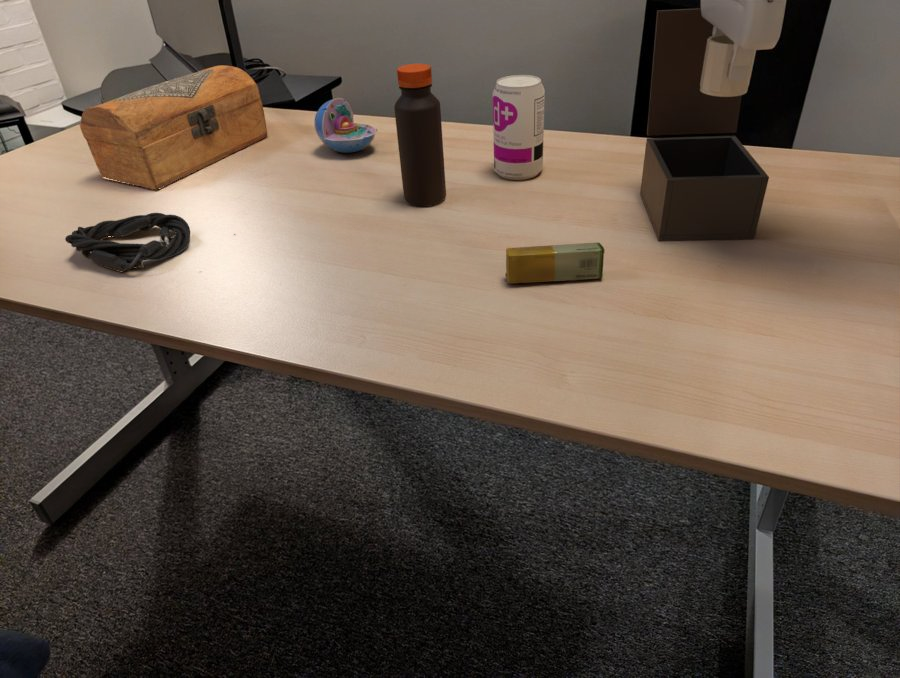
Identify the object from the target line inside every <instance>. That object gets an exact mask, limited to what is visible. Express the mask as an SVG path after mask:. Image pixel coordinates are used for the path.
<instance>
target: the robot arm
mask: <svg viewBox="0 0 900 678" xmlns="http://www.w3.org/2000/svg"><path fill="white" fill-rule="evenodd" d="M786 5H787V0H700V8H701V14H702V17H703V18H705V19H706V20H707V21H708V22H710V23H711V24H712V25H713V32H712V36H715V35H722V34H725V35H726V36H727V37H728V38H730V39H731V40H732V41H733V42H734V47H733V51H734V54H733V58H732V61H731V63H729V64H728V72H727V78H728V79H729V80H730V81H732V82H741V81H743V80H744V79H745V76H746V72H747V67H748V65H749V63H750V61H751V59H752V57H753V55H754V53H755V50H756V51H761V50H772V49H774V48H775V47H776V46H777V44H778V41H779V40H780V37H781V33H782V29H783V24H784V17H785V11H786Z"/></svg>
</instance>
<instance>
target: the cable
mask: <svg viewBox="0 0 900 678" xmlns="http://www.w3.org/2000/svg"><path fill="white" fill-rule="evenodd" d="M155 227H157V228H159V232H158V233H159V236H160V240H161V241H158V240H155V239H154V240H151V241H149V242H146V243H125V242H123V243H122V242H117V241H113V240H106V239H107V238H106V237H108V236H111V238H113V237H112V236H115V237H117V238H121V237H126V236H129V235H132V234H133V233H135V232H137V231H145V232H146V231H149V230H152V229H153V228H155ZM171 231H172V232H174V233H175V235H173V236H172V235H171ZM190 238H191V229H190V226H189V223H188V222H187V221H186V220H185V219H184V218H183V217H181V216H179V215H176V214H165V213H161V212H151V213H147V214H139V215H133V216H128V217H125V218H121V219H117V220H103V221H101V222H100V221H99V222H98V223H96V224H95V225H90V226H86V227H82V226H78V227H77V230H73V231H72V232H71V234H68V235H66V237H65V238H64V239H65V242H66V243H68V244H70V246H71V247H72V248H75V250H76V252H81V254H82V255H83V257H85V258H86V259H87V260H90V261H92V262H93V263H94V264H96V265H98V266H101V267H103V268H106V267H107V269H110V270H113V269H114V270H113V271H116V270H118V271H117V272H120V271H123V272H125V271H126V270H130V269H135V268H134V267H143V268H144V267H145V266H144V261H145V262H146V261H158V260H163V259H164V258H170V257H174V256H176V255H178V254H180V253H182V252H183V251H184V250H185V249H186V248H187V246H188V244H189V243H190ZM101 239H102V240H101ZM132 267H133V268H132ZM124 270H125V271H124Z"/></svg>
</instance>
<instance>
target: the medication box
mask: <svg viewBox="0 0 900 678" xmlns="http://www.w3.org/2000/svg"><path fill="white" fill-rule="evenodd" d="M605 250H606V249H605V247H604V246H603V245H602V244H601V242H586V243H585V242H584V243H581V242H580V243H568V244H567V243H566V244H553V245H552V244H550V245H536V246H521V247H507V248H505V274H504V277H505V279H506V281H507V283H508V284H510V285H513V284H528V283H545V282H562V281H579V280H582V281H583V280H598V279H600V280H602V279H603V277H604V257H605Z"/></svg>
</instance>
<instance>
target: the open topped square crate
mask: <svg viewBox="0 0 900 678" xmlns="http://www.w3.org/2000/svg"><path fill="white" fill-rule="evenodd" d="M769 180H770V176H769V175H768V174H767V173H766V171H765V170H764V169H763V168H762V166H761V165H760V164H759V163H758V162H757V160H756V159H755V158H754V157H753V156H752V154H751V153H750V151H748V150H747V148H745V145H744V144H743V143H742V142H741V141H740V140H739V139H738V137H737V135H708V136H707V135H706V136H703V135H702V136H674V137H647V138H646V142H645V150H644V157H643V166H642V173H641V183H640V191H639V195H640V198H641V200H642V203H643V205H644V208H645V210H646V213H647V214H648V217H649V220H650V222H651V225H652V228H653V231H654V233H655V235H656V239H657V240H658V242H666V241H667V242H669V241H670V242H672V241H721V240H722V241H723V240H724V241H725V240H726V241H727V240H755V238H756V233H757V229H758V224H759V221H760V217H761V213H762V209H763V206H764V205H763V204H764V200H765V196H766V191H767V188H768V185H769Z"/></svg>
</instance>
